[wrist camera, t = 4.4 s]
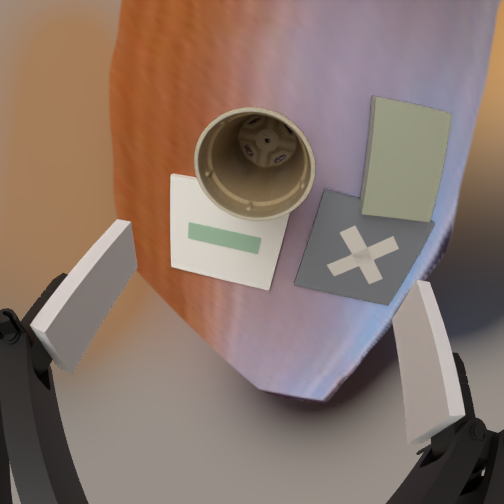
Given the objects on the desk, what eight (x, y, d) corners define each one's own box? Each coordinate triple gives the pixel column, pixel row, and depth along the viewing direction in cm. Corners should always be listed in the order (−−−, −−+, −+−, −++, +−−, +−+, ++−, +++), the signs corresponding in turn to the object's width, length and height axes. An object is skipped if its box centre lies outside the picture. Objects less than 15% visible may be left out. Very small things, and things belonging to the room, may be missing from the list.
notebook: (371, 95, 24) (376, 97, 22) (443, 110, 23) (451, 114, 21) (358, 205, 31) (361, 214, 29) (424, 213, 29) (429, 222, 28)
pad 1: (172, 173, 33) (170, 175, 32) (293, 197, 32) (292, 201, 32) (172, 264, 42) (170, 267, 41) (269, 287, 41) (268, 291, 40)
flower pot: (206, 150, 31) (175, 183, 24) (251, 76, 25) (230, 84, 18) (279, 195, 32) (270, 240, 26) (332, 129, 27) (340, 156, 20)
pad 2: (324, 188, 31) (324, 191, 30) (433, 221, 30) (435, 224, 30) (294, 282, 40) (293, 285, 39) (387, 302, 39) (388, 306, 38)
